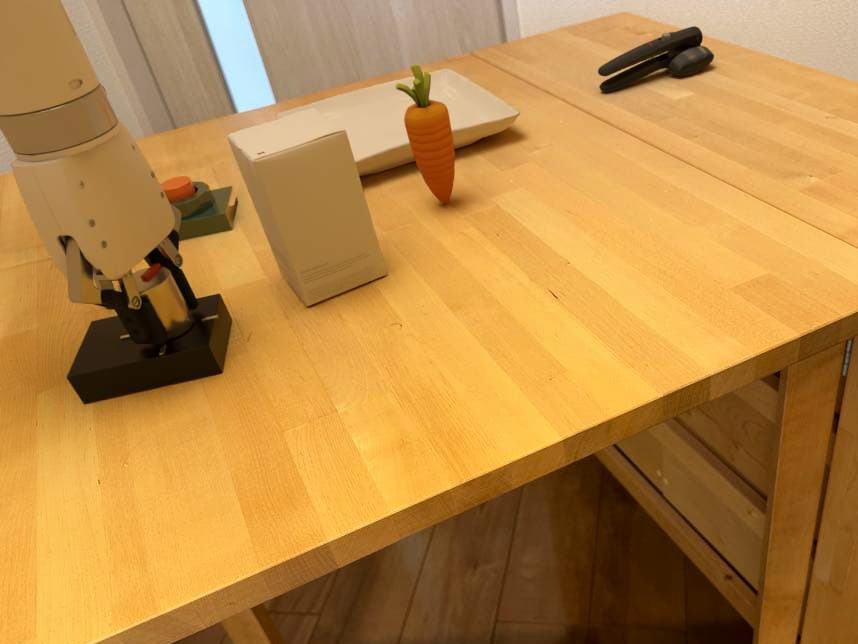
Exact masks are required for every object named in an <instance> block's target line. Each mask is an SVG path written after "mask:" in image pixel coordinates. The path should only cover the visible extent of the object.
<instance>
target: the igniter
mask: <svg viewBox="0 0 858 644" xmlns="http://www.w3.org/2000/svg"><path fill="white" fill-rule="evenodd" d="M192 183H193V185H194V187H195V190H196V193H195V194H194V195H192V196H191V197H188V198H186V199H184V200H180V201H175V202H169V203H170V204H171V205H173V206H174V207H176V208H177V209H179V210H180V212H181V222H180V227H179V232H178V234H179V242H182V241H186V240H191V239H196V238H201V237H205V236H206V237H207V236H210V235H215V234H220V233H225V232H229V231H232V230H233V227H234V224H235V218H236V214H237V209H238V205H239V201H238V198H237V197H235V199H234V203H233V204H234V205H229V204H230V199H231V195H232V192H233V186H232V185H229V186H225V187H220V188H215V189H211V188H210V185H209V184H207V182H206V183H205V182H204V181H192Z"/></svg>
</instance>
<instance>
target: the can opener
mask: <svg viewBox="0 0 858 644" xmlns="http://www.w3.org/2000/svg"><path fill="white" fill-rule="evenodd" d="M703 38H704V37H703V32H702V30H701V29H700V27H698V26H696V25H694V26H688V27H686V28H683V29H680V30H677V31H669V32H663V33H662V34H661V37H658V38H655V39H653V40H649V41H647V42H645V43H642V44H641V45H640V44H639V45H638V46H636V47H634V48H632V49H630V50H628V51H625V52H624V53H622V54H620V55H617V56H616V57H614V58H612V59H610V60H609V61H607V62H605V63H604V64H602V65H601V66H600V67H598V70H597V74H598V75H599V76H600V77H608V76H611V77H609V78H607V79H605V80H603V81H602V82H601V83H600V84H599V87H598V88H599V90H600V91H602V92H603V93H610V92H614V91H617V90H621V89H623V88H626V87H627V86H631V85H632V84H634V83H636V82H638V81H640V80H641V79H643V78H645V77H647V76H649V75H651V74H654V73H655V72H658V71H659V70H664V69H667V70H668V72H669V73H671V74H674V75H677V76H680V77H686V76H687V77H688V76H691V75H694V74H696V73H698V72H700V71H702V70H703V69H705V68H707V67H708V66H709V65H710V64H711V63H712V62H713V61H714V59H715V55H714V53H713V52H712V50H710V49H709V48H708V47H707V46H705V45H702V43H703ZM622 70H623V71H622ZM620 71H621V72H620ZM618 72H619V73H618ZM615 73H617V74H615ZM613 74H615V75H613ZM612 75H613V76H612Z"/></svg>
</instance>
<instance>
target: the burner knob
mask: <svg viewBox="0 0 858 644" xmlns="http://www.w3.org/2000/svg"><path fill="white" fill-rule="evenodd" d="M132 273H133V276H134V279H135V282H136V285H137V288H138V291H139V294H140V297H141V301H142V302H149V304H150V305H151V306H152V308H153V310H154V312H155V314H156V316H157V317H158V319H159V321H160V323H161V325H162V327H163V329H164V330H165V332H166V334H167V336H168V340H170V339H173V338H176V337H178V336H180V335H182V334H183V333H185V332H186V331H188V330H189V329H190V328H191V327H192V325H193V323H194V317H193V315H192V313H191V311H190V309H189V307H188V305H187V303H186V301H185V299H184V297H183V295H182V293H181V291H180V289H179V287H178V285H177V283H176V281H175V279H174V277H173V275H172V273H171V271H170V270H169V269H168V268H166V267H161V266H160V264H153V265H152V266H151V267H150V266H149V267H146V268H142V269H139V270H137V271H134V272H132ZM117 291H119V292H122V291H121V288H120V285H119V284H118V285H117Z"/></svg>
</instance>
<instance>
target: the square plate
mask: <svg viewBox="0 0 858 644" xmlns="http://www.w3.org/2000/svg"><path fill="white" fill-rule="evenodd" d="M428 73H429V74H430V75H431V84H430V92H429V100H433V101H438V102H442V103H443V104H445V105H446V107H447V109H448V113H449V118H450V124H451V130H452V137H453V143H454V150H456V149H460V148H464V147H467V146H469V145H472V144H474V143H476V142H478V141H480V140H482V138H486V137H490V136H492V135H495V134H499V133H501V132H503V131H505V130H507V129H508V128H510V127H511V126H512V125H513V123H515V122H516V120H517V119H518V117H519V116H520V115H521V111H520V110H519V109H517V108H516V107H514V106H513V105H511V104H510V103H508V102H506V101H505V100H503V99H501V98H500V97H498V96H497V95H495V94H494V93H492V92H491V91H489V90H487V89H486V88H484V87H482V86H481V85H479V84H477V82H475V81H472V80H471V79H469V78H468V77H466V76H465V75H463V74H461V73H459V72H457V71H455V70H454V69H451V68H443V69H438V70H435V71H430V72H428ZM423 76H424V73H423ZM414 80H415V77H414V75H413V76H409V77H405V78H400V79H395V80H391V81H388V82H383V83H379V84H375V85H371V86H367V87H363V88H359V89H355V90H352V91H347V92H344V93H341V94H337V95H334V96H331V97H328V98H325V99H321V100H318V101H315V102H311V103H309V104H305V105H302V106H298V107H295V108H291V109H288V110H285V111H282V112H278V114H276V115H275V119H280V118H283V117H286V116H288V115H291V114H294V113H297V112H300V111H304V110H308V109H311V108H314V109H315V110H317V111H318V112H320V113H321V114H322V115H324V116H325V117H327V118H328V119H330V120H331V121H333V122H334V123H335V124H337V125H338V126H340V127H341V128H343V129H344V130H346V133H347V136H348V139H349V143H350V146H351V150H352V153H353V156H354V160H355V163H356V167H357V170H358V174H359V177H361V176H368V175H373V174H377V173H380V172H384V171H387V170H390V169H394V168H397V167H400V166H403V165H407V164H410V163H413V162H416V161H415V159H414V155H413V152H412V149H411V145H410V142H409V138H408V135H407V131H406V127H405V123H404V116H405V113H406V110H407V108H408V107H409V106H411V105H413V104H415V102H414V100H413V99H412V98H411V97H410V96H409V95H408V94H406V93H405V92H403V91H400V90H397V89H396V85H397V84H398V83H400V84H404V85H407V86H408V87H409V88H410V89H411V90H412V88H413V86H414V84H413V81H414Z"/></svg>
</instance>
